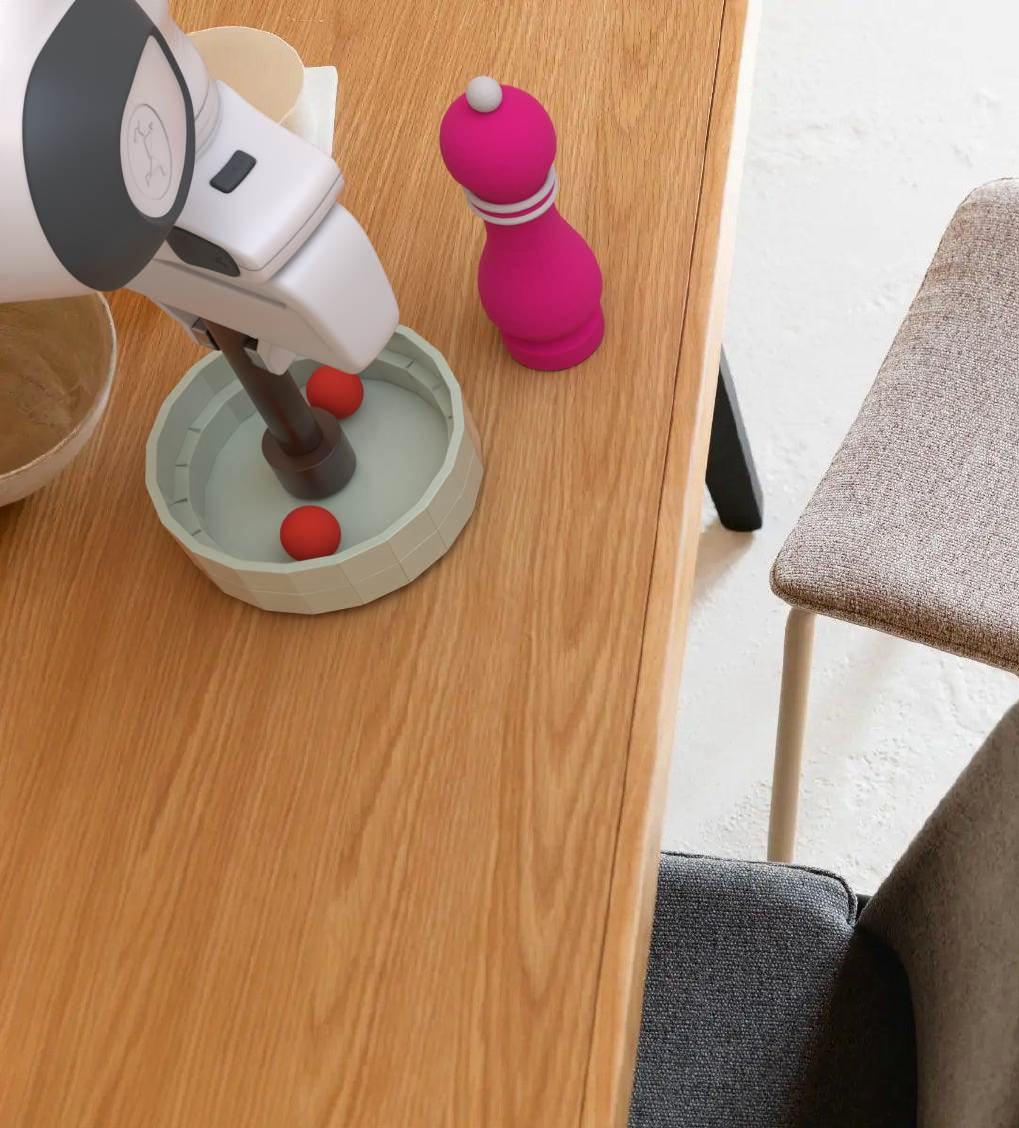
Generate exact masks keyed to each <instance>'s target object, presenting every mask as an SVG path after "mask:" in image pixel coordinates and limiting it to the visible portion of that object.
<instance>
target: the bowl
mask: <svg viewBox="0 0 1019 1128" xmlns="http://www.w3.org/2000/svg"><path fill="white" fill-rule="evenodd" d="M322 366H325V364H322V363H320V362H317V361H314V360H312V359H309V358H306V357H304V356H301V355H299V354H297V356H296V358H295V360H294V361H293V362H292V363H291V365H290V366H289V367H288V370H289V372H290V374H291V376H292V378H293V379H294V381H295V383H296V385H297V387H298V388H299V390H300V392H301V394H302V395H303V397H304V399H305V401H306V403H307V404H308V406H310V404H309V402H308V400H307V396H306V385H307V382H308V379H309V377H310V376H311V375H312V373H313V372H314V371H315V370H317V369H318V368H320V367H322ZM357 375H358V377H359V378H360V380H361V382H362V384H363V389H364V397H363V401H362V404H361V405H360V407H359V409H358V410H357V411H356V412H355V413H354V414H352V415H350V416H349V417H346V418H343V419H337V420H338V422H339V424H340V426H341V428H342V430H343V431H344V433H345V435H346V437H347V439H348V441H349V443H350V445H351V446H352V448H353V450H354V452H355V455H356V468H355V471H354V474H353V476H352V478H351V479H350V481H349V482H348V483H347V484H346V485H345V486H344V487H343V488H342V489H341V490H339V491H338V492H336V493H334V494H332V495H330V496H328V497H325V498H321V499H313V500H309V499H302V498H298V497H295V496H293V495H291V494H290V493H289V492H287V491H286V490H285V489H284V487H283V486H282V484H281V483H280V481H279V480H278V478H277V476H276V475H275V473H274V472H273V470H272V469H271V467H270V465H269V464H268V462H267V461H266V459H265V457H264V455H263V453H262V447H261V444H262V438H263V435H264V432H265V430H266V429H267V427H268V426H267V425H266V423H265V422H264V420H263V418H262V417H261V415H260V413H259V412H258V410H257V408H256V407H255V405H254V404H253V402H252V400H251V399H250V397H249V395H248V394H247V392H246V390H245V389H244V387H243V386H242V384H241V382H240V381H239V379H238V377H237V376H236V374H235V372H234V371H233V369H232V368H231V366H230V364H229V363H228V361H227V359H226V358H225V356H224V354H223V353H222V351H221V350H220V351H216V350H213V349H212V351H210V352H209V353H208V354H206V355H205V356H203V357H202V358H201V359H199V360H198V361H196V363H194V364H193V365H192V366H191V367H189V369H188V370H187V371H186V373H184V375H183V377H182V378H181V379H180V380H179V382H178V383H176V385H175V386H174V387H173V389H172V390H171V391H170V392H169V393H168V395H167V396H166V398H165V399H164V400H163V402H161V406H160V408H159V410H158V413H157V416H156V418H155V421H154V423H153V425H152V428H151V431H150V433H149V435H148V438H147V441H146V443H145V477H144V478H145V481H144V482H145V483H144V484H145V488H146V490H147V491H148V495H149V497H150V499H151V502H152V504H153V507H154V509H155V511H156V514H157V515H158V519H159V521H160V523H161V524H162V525H163V527H164V528H165V529H166V530H167V532H168V533H169V534H170V535H171V537H172V538H173V539H174V541H175V542H176V543H177V544H178V545H179V547H180V548H181V549H182V550H183V552H184V553H185V554H186V555H187V557H188V558H189V559H190V560H191V561H192V563H193V564H194V565H195V566H196V567H197V568H198V569H199V570H200V571H201V572H202V573H203V574H204V575H205V576H206V577H207V578H208V579H209V580H210V581H211V582H212V583H213V584H215V586H217V588H218V589H220V590H221V591H222V592H223V593H224V594H226V595H228V596H231V597H232V598H235V599H238V600H240V601H242V602H245V603H247V604H250V605H252V606H254V607H257V608H259V609H261V610H263V611H266V612H267V611H268V612H278V613H290V614H291V613H292V614H303V615H312V616H313V615H319V614H323V613H329V612H336V611H340V610H344V609H350V608H356V607H361V606H364V605H367V604H369V603H371V602H373V601H375V600H377V599H380V598H382V597H383V596H386V595H388V594H390V593H392V592H394V591H396V590H398V589H401V588H403V587H404V586H407V585H408V584H410V583H413V581H415V579H417V578H418V577H419V576H420V575H421V574H423V573H424V572H425V571H426V570H427V569H429V567H431V566H433V564H434V563H436V561H438V560H439V559H440V558H442V557H443V556H444V555H445V554H446V553H447V552H448V551H449V550H450V548H451V547H452V545H453V544H454V543H455V541H456V540H457V538H458V536H459V535H460V533H461V531H462V530H463V529H464V527H465V525H466V524H467V523H468V521H469V519H470V518H471V516H472V515H473V512H474V511H475V507H476V503H477V498H478V494H479V491H480V488H481V483H482V479H483V477H484V471H485V470H484V462H483V453H482V443H481V435H480V432H479V429H478V427H477V424H476V422H475V420H474V417H473V415H472V413H471V410H470V407H469V404H468V402H467V400H466V398H465V394H464V393H463V389H462V388H461V385H460V383H459V382H458V380H457V378H456V376H455V374H454V373H453V371H452V369H451V367H450V366H449V363H448V362H447V360H446V358H445V357H444V355H443V354H442V352H441V351H440V350H438V349H437V348H436V347H434V346H433V345H432V344H431V343H429V341H428V340H426V339H425V338H423V337H422V336H421V335H420V334H419V333H417V332H416V331H415V330H413V329H412V328H410V327H408V326H406V325H403V324H402V323H401V324H400V323H398V325H397V328H396V330H395V332H394V333H393V335H392V337H391V338H390V340H389V341H388V342H387V344H386V345H385V347H384V348H383V349H382V351H381V352H380V353H379V354H378V356H377V357H376V358H375V359H374V360H373V361H372V362H371V363H370V364H369V365H368V366H367V367H366V368H365V369H364V370H362V371H361V372H359V373H357ZM310 407H311V406H310ZM307 505H313V506H319V507H322V508H324V509H326V510H328V511H329V512H331V513H332V514H333V515H334V516H335V518H336V519H337V521H338V523H339V525H340V528H341V541H340V544H339V547H338V548H337V550H336V551H335V553H334V554H333V555H331V556H325V557H320V558H315V559H309V560H304V561H297V560H295V559H294V558H292V557H291V556H290V555H288V554H287V552H286V551H285V550H284V548H283V546H282V544H281V541H280V528H281V524H282V522H283V520H284V519H285V517H286V516H287V515H288V514H289V513H290V512H291V511H293V510H294V509H296V508H299V507H302V506H307Z"/></svg>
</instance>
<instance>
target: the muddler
mask: <svg viewBox="0 0 1019 1128" xmlns="http://www.w3.org/2000/svg"><path fill="white" fill-rule="evenodd" d="M201 319H202V320H203V322H204V323H205V325H206V327H207V328H208V330H209V332H210V333H211V335H212V337H213V338H214V340H215V341H216V343H217V345H218V346H219V348H220V350H221V351H222V353H223V354H224V356H225V358H226V359H227V361H228V363H229V364H230V366H231V368H232V369H233V371H234V372H235V374H236V376H237V377H238V379H239V381H240V382H241V384H242V386H243V387H244V389H245V390H246V392H247V394H248V395H249V397H250V399H251V400H252V402H253V404H254V405H255V407H256V408H257V410H258V412H259V413H260V415H261V417H262V418H263V420H264V422H265V423H266V425H267V426H268V427H267V429H266V430H265V432H264V435H263V438H262V444H261V447H262V453H263V455H264V457H265V459H266V461H267V462H268V464H269V465H270V467H271V469H272V470H273V472H274V473H275V475H276V476H277V478H278V480H279V481H280V483H281V484H282V486H283V487H284V489H285V490H286V491H287V492H289V493H290V494H291V495H293V496H295V497H298V498H302V499H309V500H313V499H321V498H325V497H328V496H330V495H332V494H334V493H336V492H338V491H339V490H341V489H342V488H343V487H344V486H345V485H346V484H347V483H348V482H349V481H350V479H351V478H352V476H353V474H354V471H355V468H356V455H355V452H354V450H353V448H352V446H351V445H350V443H349V441H348V439H347V437H346V435H345V433H344V431H343V430H342V428H341V426H340V424H339V422H338V420H337V419H336V418H335V416H333V415H332V414H331V413H330V412H328V411H326V410H324V409H321V408H318V407H310V406H308V404H307V403H306V401H305V399H304V397H303V395H302V394H301V392H300V390H299V388H298V387H297V385H296V383H295V381H294V379H293V378H292V376H291V374H290V372H289V370H288V369H287V370H286V371H285V372H284V374H282V375H277V374H274V373H271V372H270V371H267V370H265V369H262V368H260V367H257V366H255V365H253V363H252V362H251V361H252V359H251V358H250V357H249V356H248V355H247V353H246V352H245V350H244V347H245V346H246V344H247V343H248V342H249V340H250V339H251V338H253V337H250V336H249V335H246V334H244V333H241V332H239V331H236V330H233V329H231V328H228V327H225V326H223V325H220V324H218V323H215V322H212V321H210V320H207V319H205V318H202V317H201Z"/></svg>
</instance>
